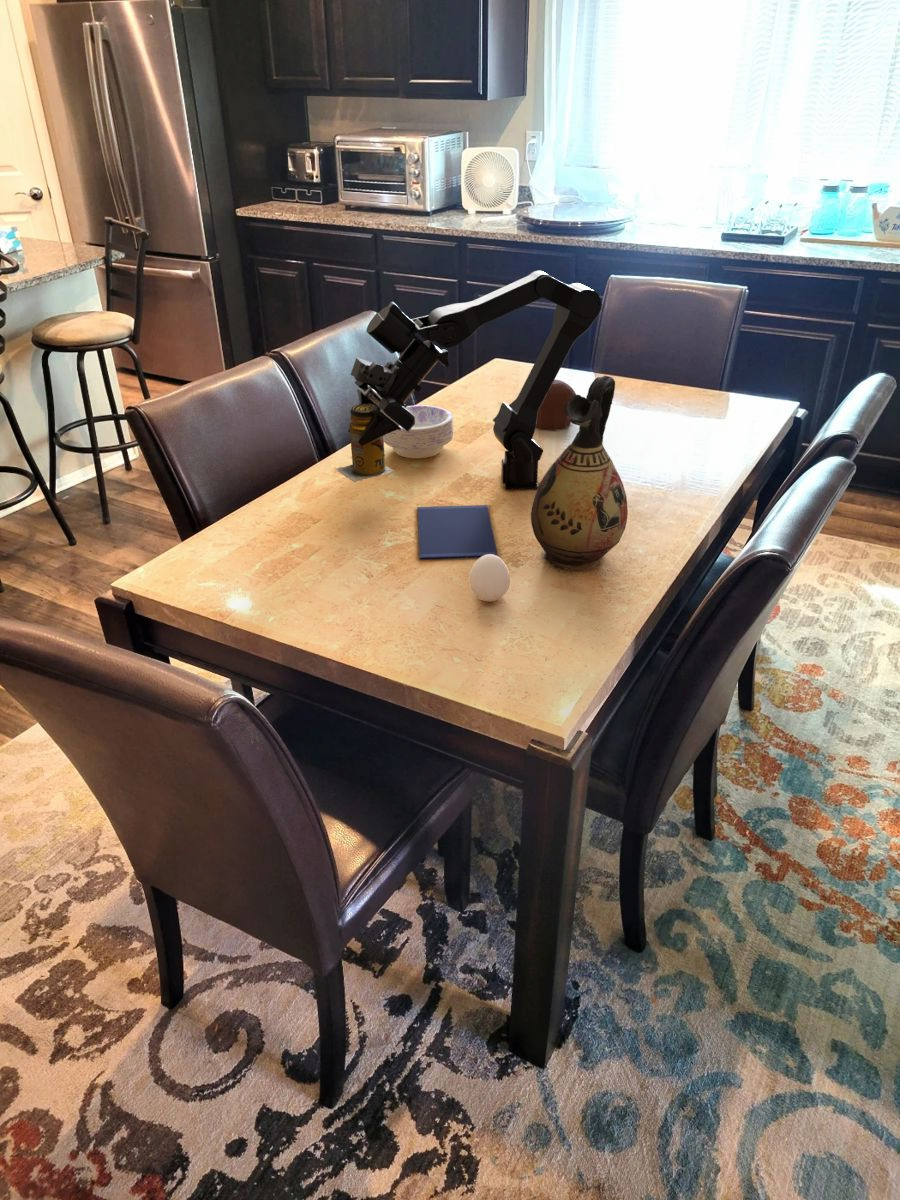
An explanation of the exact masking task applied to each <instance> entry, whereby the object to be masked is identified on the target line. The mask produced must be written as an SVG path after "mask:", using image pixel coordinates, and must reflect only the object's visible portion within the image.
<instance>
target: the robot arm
mask: <svg viewBox="0 0 900 1200" xmlns="http://www.w3.org/2000/svg"><path fill="white" fill-rule="evenodd" d="M541 299H545V300H547V301H549V302H551V303H553V304H556V305H555V309H554V313H553V322H552V328H551V331H550V332H549V335H548V336H547V338H546V340H545V342H544V344H543V346H542V348H541V350H540V352H539V354H538V356H537V358H536V360H535V362H534V364H533V366H532V367H531V370H530V371H529V373H528V376H527V377H526V379H525V381H524V384H523V385H522V387H521V389H520V391H519V393H518V395H517V396H516V398H515V399H514V400H513V401H512V402H510V403H509V404H507V403H506V402H502V403H501V405H500V408H499V410H498V413H496V416H495V417H494V418H493V419H492V421H493V422H494V424H493V428H492V431H493V434H494V437H495V438H496V439H497V441H498V442H499V443H500V444H501V446H503V448H504V449H505V451H504V458H502V459H501V473H500V477H501V478H500V479H501V483H502V484H504V489H505V490H508V491H509V490H537V489H538V486H539V483H538V477H539V476H538V473H539V461H540V460H541V458H542V456H543V453H544V449H543V448H542V447H541V446H540V445H539V444H538V443H537V442H536V441H535V440H534V436H535V432H536V429H537V428H536V423H537V415H538V410H539V408H540V406H541V404H542V402H543V400H544V399H545V397H546V395H547V393H548V391H549V389H550V387H551V385H552V383H553V381H554V379H555V380H556V377H557V376H558V374H559V372H560V371H561V368H562V366H563V364H564V362H565V360H566V359H567V357H568V355H569V353H570V351H571V349H572V347H573V345H574V344H575V342H576V341H577V340H578V339H579V338H580V337H581V336H583V335H584V333H586V332H587V331H589V329H590V328H591V326H592V325H593V323H594V322H595V321H596V319H597V318H598V317H599V315H600V314H601V311H602V307H603V303H602V299H601V296H600V295H599V293H598V292H597V291H595V290H594V289H591V288H590V287H588V286H586V285H584V284H582V283H579V282H575V283H570V284H567V283H564V282H563V281H560V280H559V279H556V278H554V277H553V276H552V275H550V274H548V273H546V272H544V271H542V270H534V271H532V272H531V273H530V274H528V275H527V276H524V277H523V278H520V279H517V280H515V281H514V282H512V283H509V284H507V285H505V286H502V287H500V288H498V289H496V290H494V291H491V292H489V293H487V294H484V295H483V296H480V297H478V298H475V299H474V300H471V301H467V302H457V303H451V304H448V305H444V306H440V307H437V308H434V309H433V310H432V311H430V312H429V314H427V315H423V316H419V317H415V318H409V316H407V315H406V314H405V313H404V312H403V311H402V309H401V308H400V307H399V306H398V305H397V304H396V303H395V302H394V301H390V303H389V304H388V305H387V306H385V307H383V308H382V309H381V310H380V311H379V312H376V313H375V315H373V317H372V318H371V319H370V321H369V323H368V325H367V327H366V334H367V335H369V336H370V337H371V338H373V339H374V340H375V341H376V342H377V343H378V344H379V345H380V346H382V347H383V348H384V349H385V350H386V351H388V353H390V354H394V353H397V354H400V353H401V354H400V355H399V357H397V359H396V360H395V361H394V362H393V361H387V362H386V364H385V365H383V364H381V363H377V362H376V361H373V362H372V361H369V360H366V359H363V358H360V357H356V358H355V360H354V363H353V367H352V369H351V372H350V376H352V377H353V378H354V380H355V382H354V384H355V385H356V386H357V387H358V388H359V389H358V388H357V390H356V392H357V395H358V405H360V404H373V405H372V410H373V416H372V418H371V420H370V422H369V423H368V425H367V426H366V428H365V430H364V431H363V433H362V434H361V436H360V438H359V440H358V443H359V444H360V445H361V446H363V445H365V444H367V443H369V442H371V441H373V440H375V439H377V438H379V437H381V436H384V435H386V434H388V433H391V432H393V431H395V430H400V429H401V428H400V427H399V425H400V426H401V427H403V428H404V429H405V430H406V431H408V432H409V430H410V429H411V428H412V427H413V426H414V424H415V417H414V416H413V415H412V414H411V413H410V412H409V411H408V410H407V409H406V407H407V406H408V405H407V404H405V402H407V400H409V398H410V396H411V395H412V394H413V392H415V391H416V392H417V393H419V392H420V391H421V390H422V387H421V386H420V384H421V383H422V381H423V380H424V379H425V378H426V377H427V375H428V374H429V373H430V372H431V371H432V369H433V368H434V367H435V366H436V364H437V363H439V364H440V365H442V366H444V367H445V368H449V367H450V361H449V354H450V352H449V350H447V349H452V348H455V347H457V346H459V345H460V344H462V343H463V342H465V341H466V340H467V339H469V338H470V337H472V336H473V335H474V333H476V332H477V331H478V329H480V328H482V326H484V325H486V324H487V323H490V322H493V321H495V320H497V319H499V318H501V317H504V316H505V315H507V314H510V313H512V312H514V311H517V310H519V309H521V308H524V307H526V306H528V305H530V304H532V303H535V302H536V301H539V300H541ZM416 334H418V335H419V336H420V337H421V338H422V339H423V340H424V341H422V340H421V339H420V338H419V337H418V336H417V335H416ZM434 342H436V343H437V344H438V345H439V346H441V347H442V348H443V349H440V348H439V347H438V346H437V345H435V344H434ZM360 389H361V390H360ZM374 405H376V406H378V407H379V409H380V410H379V409H378V408H377V407H375V406H374ZM348 433H349V434H350V428H348Z"/></svg>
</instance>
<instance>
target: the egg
mask: <svg viewBox="0 0 900 1200" xmlns="http://www.w3.org/2000/svg"><path fill="white" fill-rule="evenodd" d="M510 577H511V576H510V571H509V568H508V566H507V565H506V563H505V561H504V560H503V559H502V557H499V556H498V555H497V556H496V555H493V554H487V555H484V556H482V557H480V558H477V560H476V561H475V563H473V565H472V568H471V570H470V574H469V585H470V588H471V591H472V592H473V594H474V595H475V597H477V598H478V599H479V600H481V601H483V602H489V603H490V602H496V601H498V600H500V599H502V598H503V596H505V594H506V593H507V592H508V590H509V587H510V580H511V579H510Z"/></svg>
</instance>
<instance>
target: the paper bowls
mask: <svg viewBox="0 0 900 1200" xmlns="http://www.w3.org/2000/svg"><path fill="white" fill-rule="evenodd" d="M406 406H407V407H406V409H407V410H408V411H409V412H410V413H411V414H412V415H413V416H414V417H415V424H414V426H413V427H412V428H411V429H410V430H409V432H408V431H406V430H405V429H404V428H403V427H401V426H400V425H399V427H400V428H401V429H400V430H395V431H393V432H391V433H388V434H386V435H384V436H383V437H384V445H387V446H388V447H391V448H392V449H393V451H394V453H396V454H397V455H398V456H401V457H404V458H408V459H426V458H427V459H428V458H431V457H434V456H436V455H438V454H440V453H441V452H442V450H443V448H444V447H445V446H447V444H449V443H451V441H452V440H453V438H454V421H453V420H454V417H453V414H452V413H451V412H450V411H449V410H448V409H445V408H442V407H440V406H434V405H423V404H421V405H420V404H419V405H416V404H415V405H406Z"/></svg>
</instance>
